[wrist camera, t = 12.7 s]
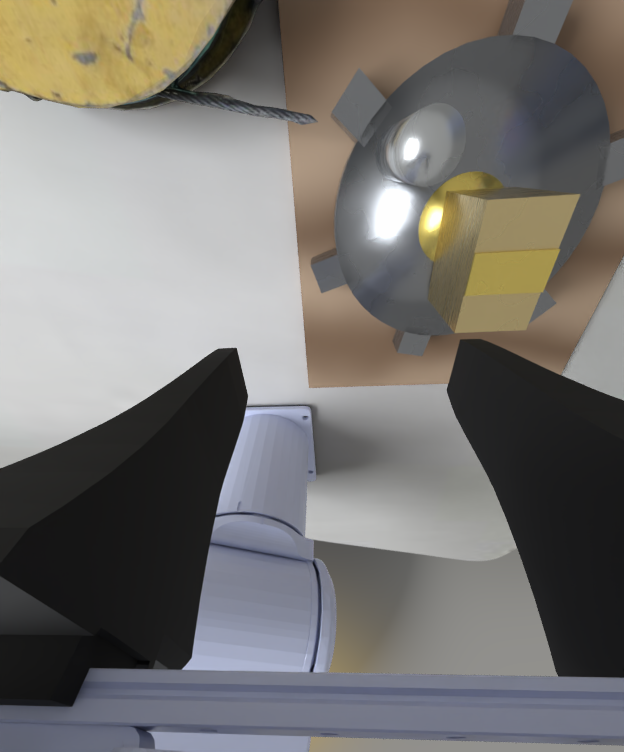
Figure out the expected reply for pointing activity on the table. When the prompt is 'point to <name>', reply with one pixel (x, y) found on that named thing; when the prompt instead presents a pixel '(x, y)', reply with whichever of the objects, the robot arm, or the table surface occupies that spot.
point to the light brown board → (332, 145)
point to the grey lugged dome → (462, 160)
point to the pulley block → (124, 52)
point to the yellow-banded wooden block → (496, 255)
